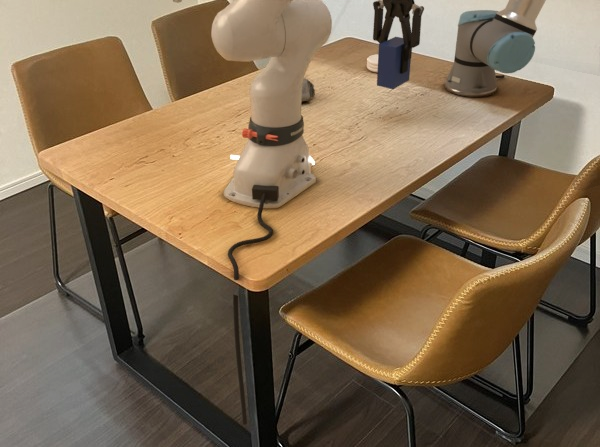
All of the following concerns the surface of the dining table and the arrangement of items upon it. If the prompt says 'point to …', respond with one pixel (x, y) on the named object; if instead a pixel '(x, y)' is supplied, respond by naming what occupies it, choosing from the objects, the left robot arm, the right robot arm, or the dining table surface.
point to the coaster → (372, 63)
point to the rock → (307, 90)
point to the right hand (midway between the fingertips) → (394, 69)
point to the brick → (391, 64)
